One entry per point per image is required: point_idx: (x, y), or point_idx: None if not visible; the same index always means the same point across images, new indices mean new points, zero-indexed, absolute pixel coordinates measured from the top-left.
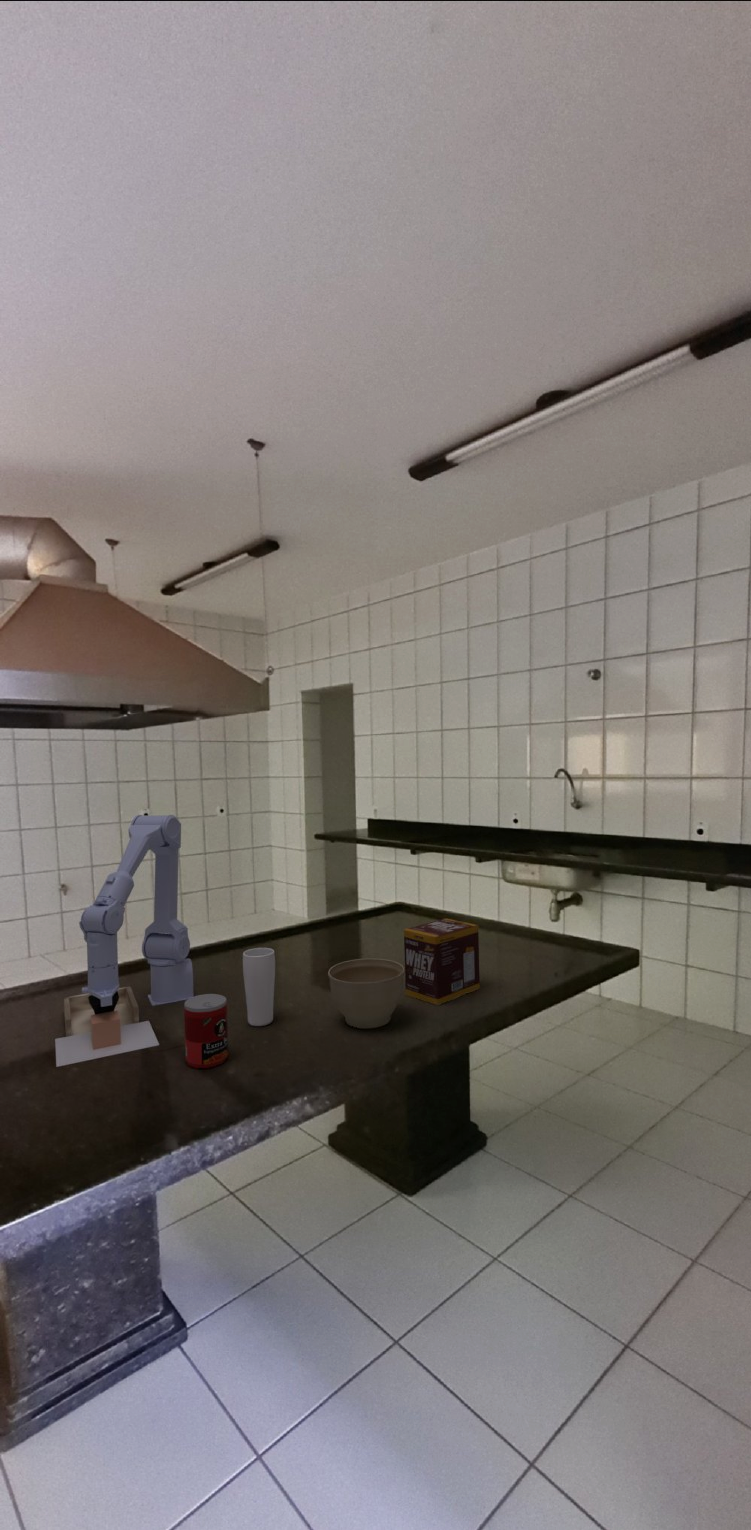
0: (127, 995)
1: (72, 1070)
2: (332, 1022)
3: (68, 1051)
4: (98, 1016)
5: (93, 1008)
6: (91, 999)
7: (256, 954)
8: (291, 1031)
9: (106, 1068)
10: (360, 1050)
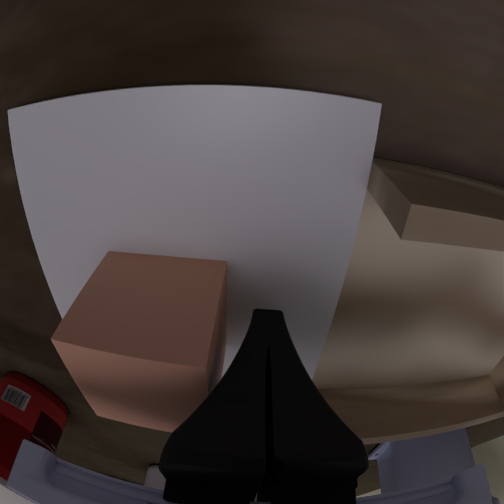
0: (474, 408)
1: (4, 164)
2: (136, 481)
3: (134, 150)
4: (162, 387)
5: (186, 420)
6: (215, 477)
7: None
8: (121, 466)
9: (3, 259)
10: (57, 455)
